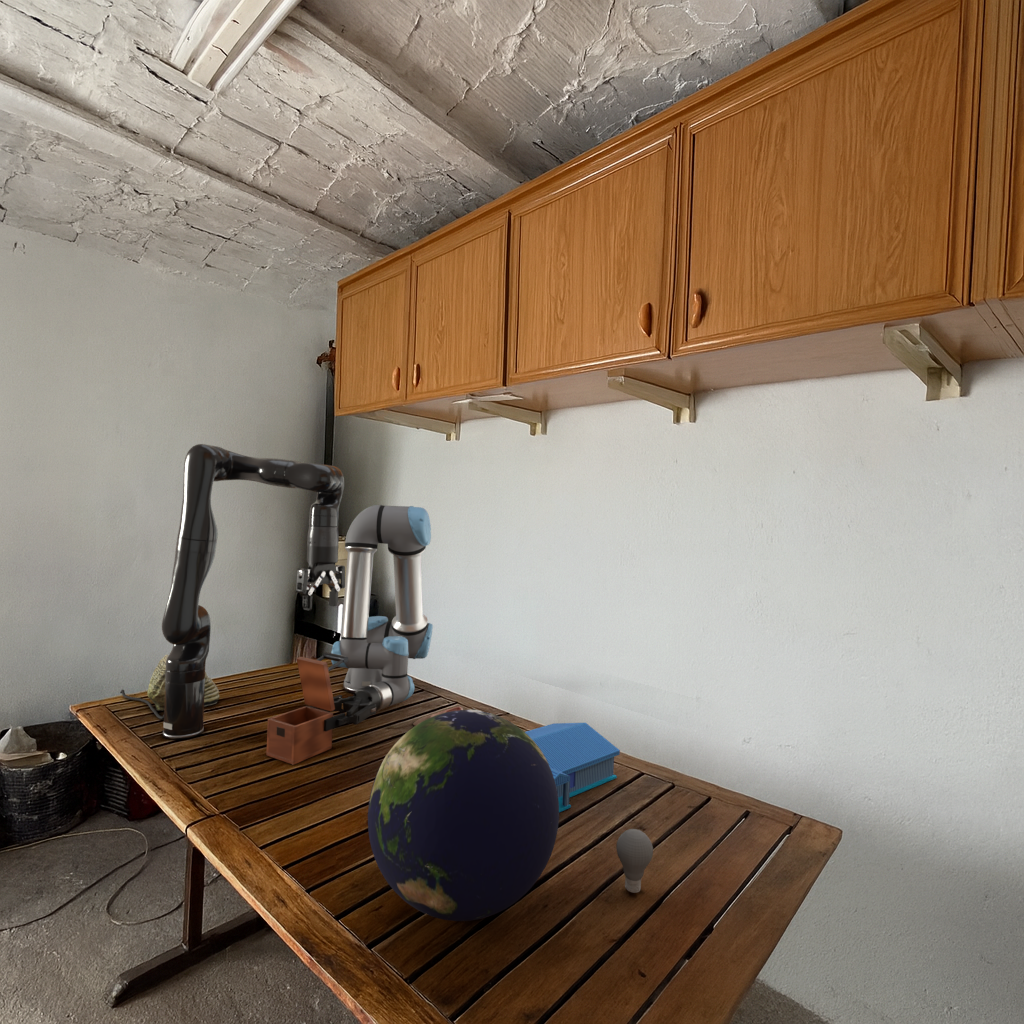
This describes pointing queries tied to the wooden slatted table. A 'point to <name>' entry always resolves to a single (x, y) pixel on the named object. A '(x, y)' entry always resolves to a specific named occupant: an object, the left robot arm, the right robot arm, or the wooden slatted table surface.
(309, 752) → the chest
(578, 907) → the wooden slatted table surface
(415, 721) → the anatomical model
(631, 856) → the light bulb
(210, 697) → the fossil
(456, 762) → the globe
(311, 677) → the lid
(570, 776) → the model building
